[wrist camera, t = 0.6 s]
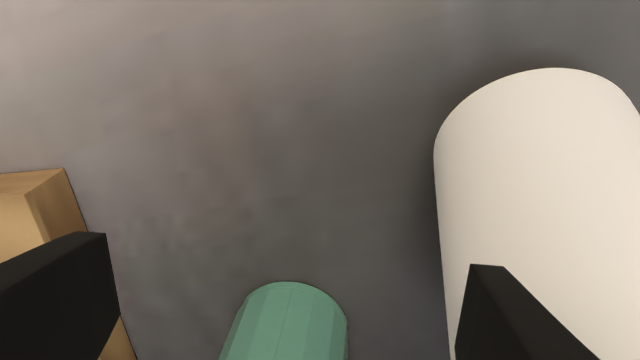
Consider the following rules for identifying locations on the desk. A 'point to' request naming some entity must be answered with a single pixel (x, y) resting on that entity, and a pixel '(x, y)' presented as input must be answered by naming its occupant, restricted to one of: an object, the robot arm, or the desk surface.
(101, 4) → the desk surface
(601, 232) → the can
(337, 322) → the tub
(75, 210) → the wooden block
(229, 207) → the desk surface
